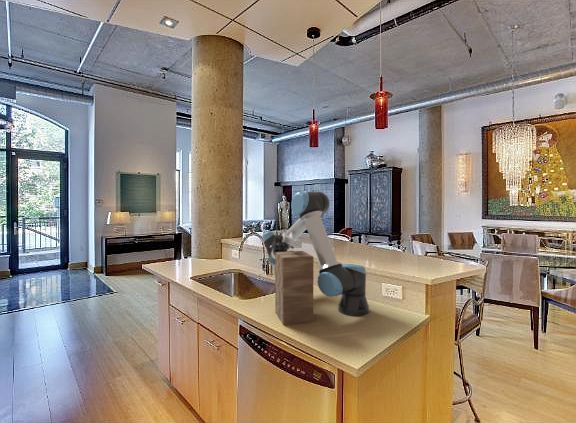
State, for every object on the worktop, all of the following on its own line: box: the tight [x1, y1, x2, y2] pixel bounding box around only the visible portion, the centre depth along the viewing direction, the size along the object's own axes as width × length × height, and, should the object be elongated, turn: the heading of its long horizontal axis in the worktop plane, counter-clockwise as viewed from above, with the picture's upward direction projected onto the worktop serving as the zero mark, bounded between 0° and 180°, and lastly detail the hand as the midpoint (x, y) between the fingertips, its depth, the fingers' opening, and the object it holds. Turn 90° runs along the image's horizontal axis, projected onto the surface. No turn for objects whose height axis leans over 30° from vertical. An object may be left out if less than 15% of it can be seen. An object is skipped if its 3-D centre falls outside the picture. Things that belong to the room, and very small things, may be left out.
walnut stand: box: [274, 250, 314, 326], centre depth 150 cm, size 16×14×30 cm
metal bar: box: [280, 234, 303, 249], centre depth 154 cm, size 26×3×3 cm, turn 15°
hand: (288, 234), depth 157 cm, fingers closed on metal bar, 3 cm apart
